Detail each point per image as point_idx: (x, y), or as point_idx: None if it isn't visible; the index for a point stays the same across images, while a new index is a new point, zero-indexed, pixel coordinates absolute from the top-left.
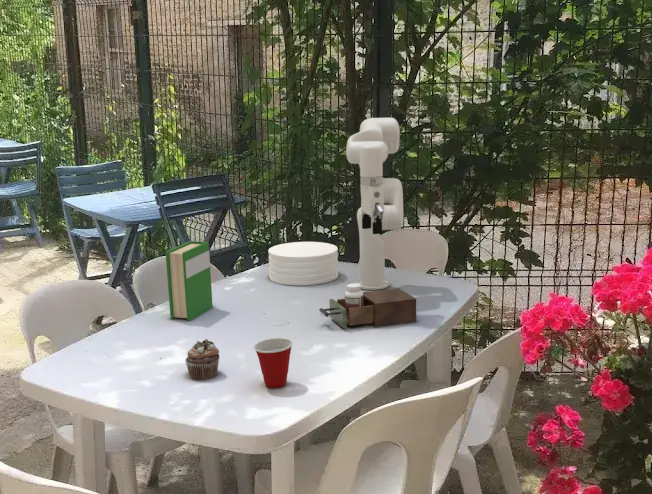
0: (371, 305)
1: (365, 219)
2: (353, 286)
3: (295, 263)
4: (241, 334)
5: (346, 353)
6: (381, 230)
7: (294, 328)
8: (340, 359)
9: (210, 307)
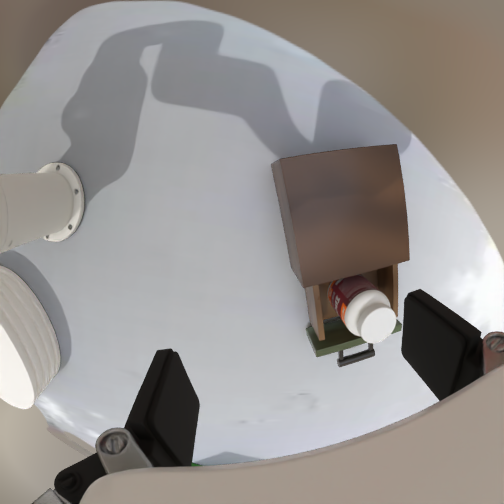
0: (394, 265)
1: (181, 448)
2: (390, 327)
3: (39, 378)
4: (336, 435)
5: (461, 307)
6: (430, 300)
7: (337, 384)
8: (471, 315)
9: (198, 465)
